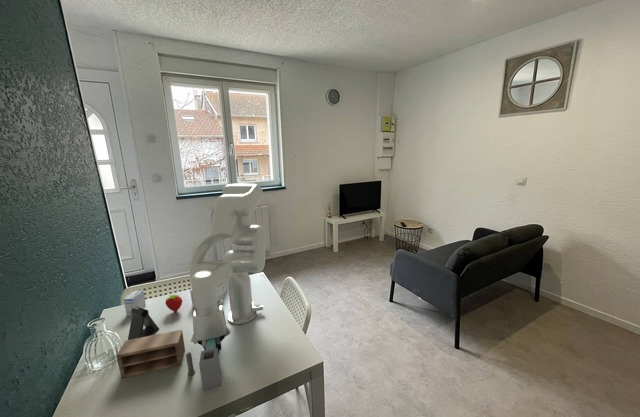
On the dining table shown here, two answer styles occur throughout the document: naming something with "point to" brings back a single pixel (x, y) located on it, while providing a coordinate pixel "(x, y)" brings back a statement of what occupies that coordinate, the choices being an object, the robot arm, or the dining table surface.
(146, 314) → the phone stand
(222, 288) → the supplement box
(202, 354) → the teal desk organizer
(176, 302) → the strawberry
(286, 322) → the dining table surface
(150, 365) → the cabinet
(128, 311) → the medicine box
